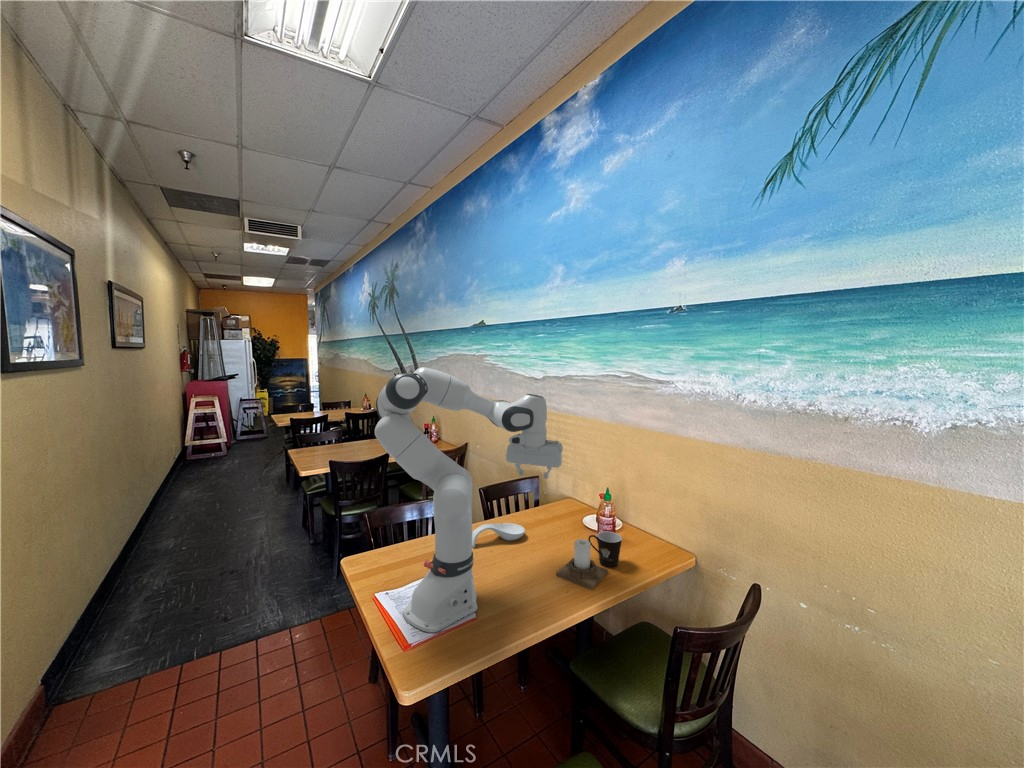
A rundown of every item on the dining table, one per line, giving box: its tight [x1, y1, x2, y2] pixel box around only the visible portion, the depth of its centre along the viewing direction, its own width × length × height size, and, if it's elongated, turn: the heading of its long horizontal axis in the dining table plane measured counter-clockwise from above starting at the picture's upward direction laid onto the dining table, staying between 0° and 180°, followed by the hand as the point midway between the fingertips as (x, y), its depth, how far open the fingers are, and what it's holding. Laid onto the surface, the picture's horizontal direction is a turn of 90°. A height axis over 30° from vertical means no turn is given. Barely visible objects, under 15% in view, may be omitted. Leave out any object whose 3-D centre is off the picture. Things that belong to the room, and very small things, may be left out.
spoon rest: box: [472, 522, 526, 549], centre depth 156 cm, size 24×12×7 cm, turn 119°
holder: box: [555, 557, 609, 591], centre depth 132 cm, size 13×13×4 cm
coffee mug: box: [587, 530, 623, 569], centre depth 140 cm, size 12×9×10 cm
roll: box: [573, 538, 592, 570], centre depth 132 cm, size 5×5×10 cm
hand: (533, 476), depth 139 cm, fingers open, 8 cm apart
